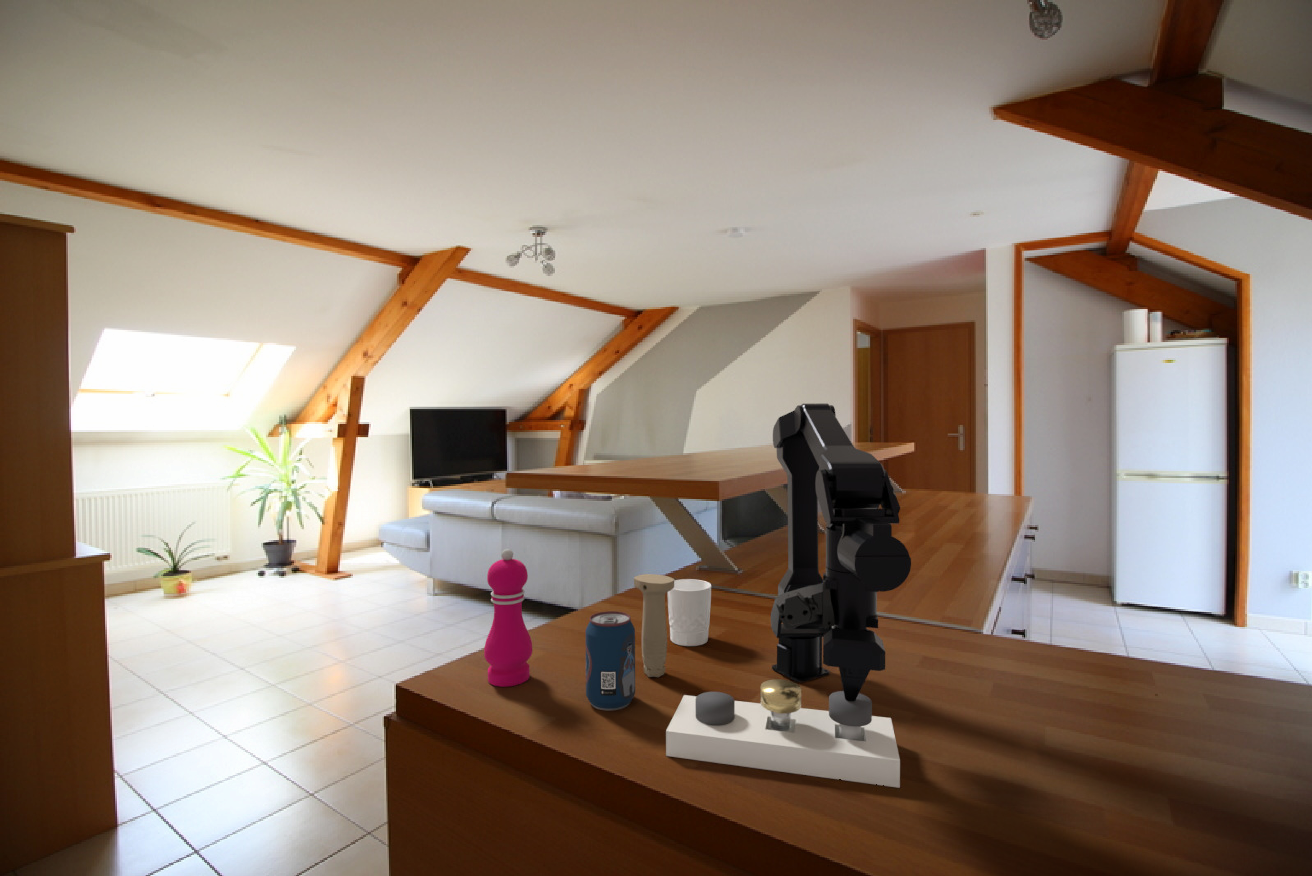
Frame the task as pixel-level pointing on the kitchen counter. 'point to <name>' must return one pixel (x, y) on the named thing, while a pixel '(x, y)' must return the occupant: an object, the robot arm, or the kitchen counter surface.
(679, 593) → the white cup
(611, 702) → the soda can
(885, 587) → the robot arm
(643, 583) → the handle
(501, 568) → the pepper mill
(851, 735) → the knob
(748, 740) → the control plate
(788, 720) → the knob middle
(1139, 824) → the kitchen counter surface
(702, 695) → the knob
